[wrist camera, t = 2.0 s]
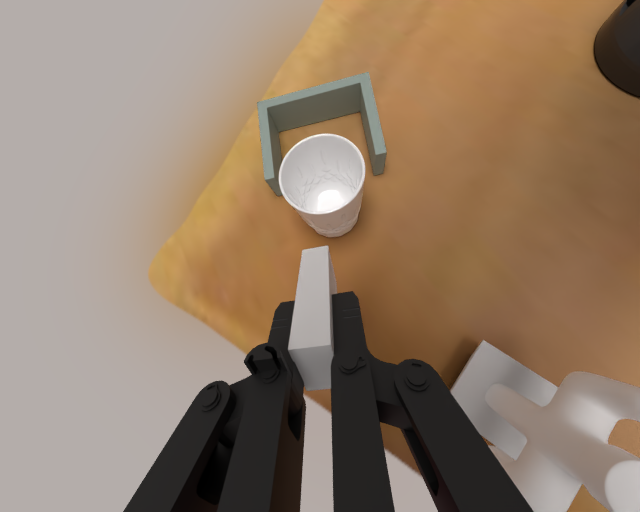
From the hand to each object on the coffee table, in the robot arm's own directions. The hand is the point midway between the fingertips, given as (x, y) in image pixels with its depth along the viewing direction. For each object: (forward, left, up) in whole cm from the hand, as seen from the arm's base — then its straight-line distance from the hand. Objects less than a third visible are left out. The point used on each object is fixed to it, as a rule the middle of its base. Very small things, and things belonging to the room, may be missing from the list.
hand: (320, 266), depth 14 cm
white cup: (0, -9, -16) cm, 18 cm away
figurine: (-13, +13, -15) cm, 24 cm away
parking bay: (0, -18, -15) cm, 24 cm away
